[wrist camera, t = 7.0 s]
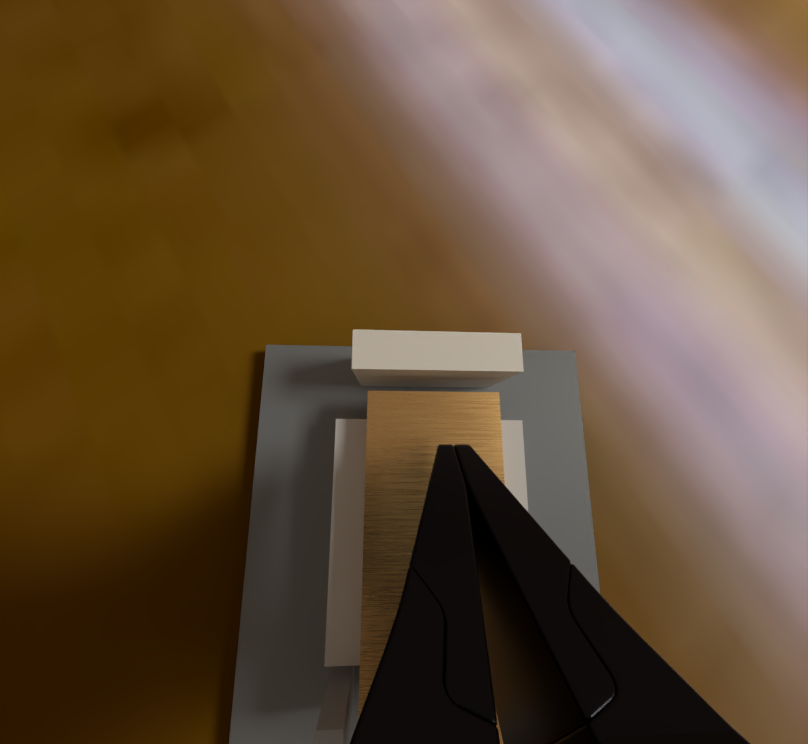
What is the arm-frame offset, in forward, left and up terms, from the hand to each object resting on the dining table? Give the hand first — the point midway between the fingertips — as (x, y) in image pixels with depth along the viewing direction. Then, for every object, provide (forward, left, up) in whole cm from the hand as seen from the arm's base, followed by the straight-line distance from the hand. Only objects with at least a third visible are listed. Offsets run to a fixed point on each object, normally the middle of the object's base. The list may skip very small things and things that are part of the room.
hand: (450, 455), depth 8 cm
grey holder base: (-4, 0, -7) cm, 8 cm away
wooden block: (-9, 0, -3) cm, 9 cm away
